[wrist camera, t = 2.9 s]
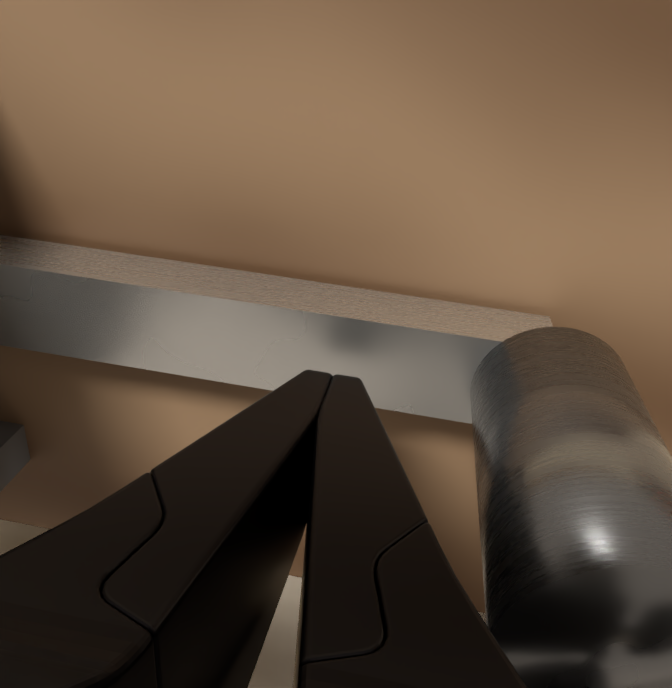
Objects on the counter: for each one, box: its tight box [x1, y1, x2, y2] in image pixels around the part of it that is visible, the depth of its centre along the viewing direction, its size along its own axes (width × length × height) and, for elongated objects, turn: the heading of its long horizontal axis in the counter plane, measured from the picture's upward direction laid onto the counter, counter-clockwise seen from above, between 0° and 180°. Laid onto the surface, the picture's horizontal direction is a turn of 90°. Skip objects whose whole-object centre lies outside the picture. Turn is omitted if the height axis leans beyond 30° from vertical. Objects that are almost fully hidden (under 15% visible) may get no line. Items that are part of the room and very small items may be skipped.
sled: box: [0, 234, 672, 688], centre depth 9 cm, size 6×18×6 cm, turn 84°
